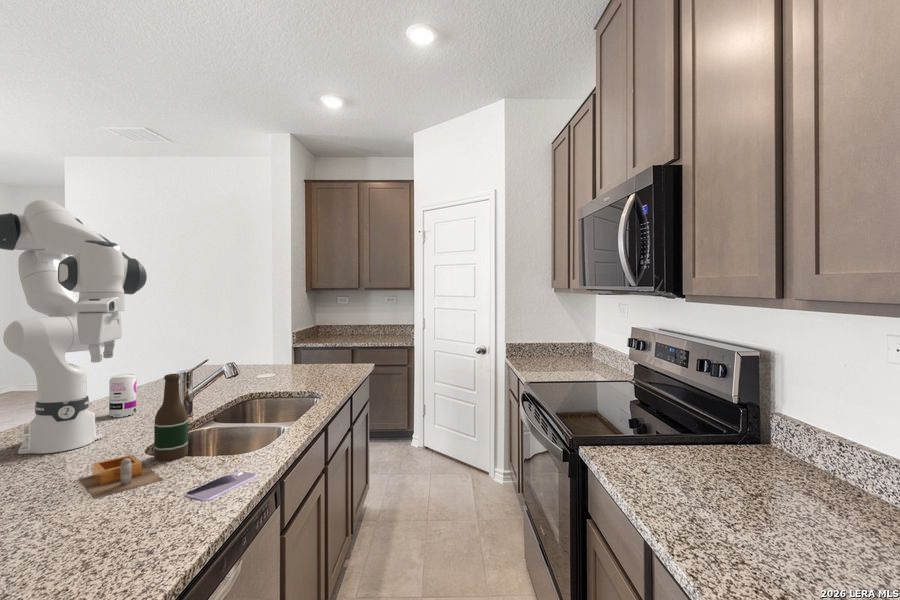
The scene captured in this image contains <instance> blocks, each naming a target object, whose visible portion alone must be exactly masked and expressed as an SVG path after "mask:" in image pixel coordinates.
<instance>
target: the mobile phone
mask: <svg viewBox="0 0 900 600" xmlns="http://www.w3.org/2000/svg"><path fill="white" fill-rule="evenodd" d="M256 478H258V474H256V473H253V472H249V471H243V470H235V473H230V474H227V475H224V476H221V477H218V478H216V479H215V480H211V481H210V482H207V483H205V484H202V485H201V486H199V487H196V488H194V489H191V490H189V491H187V492H186V493H185V496H184V497H186V498H190V499H195V500H198V501H202V502H208V501H212V500H213V499H216V498H217V497H220V496H222V495H224V494H226V493H228V492H229V491H232V490H234V489H236V488H238V487H240V486H242V485H244V484H246V483H248V482H250V481H252V480H255V479H256Z"/></svg>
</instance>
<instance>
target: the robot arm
mask: <svg viewBox="0 0 900 600" xmlns="http://www.w3.org/2000/svg"><path fill="white" fill-rule="evenodd" d="M121 247H122V246H121V245H119V244H118V243H115V242H111V241H110V240H109V239H108V238H106V237H105V236H103V235H101V234H99V233H97V232H96V231H94V230H92V229H90V228H88V227H87V226H85V225H84V223H83V222H82V221H81V220H80V219H79V218H76V217H75V216H73V214H72V213H71V212H70V211H69V210H68V209H66V208H65V207H64V206H62V205H60V204H59V203H57V202H55V201H53V200H49V199H39V200H34V201H31V202H30V203H28V204H27V205H26V206H25V207H24V210H23V213H12V212H10V213H9V212H7V213H1V214H0V250H7V251H15V250H17V251H23V252H21V254H20V255H19V256H18V261H17V262H18V264H17V265H18V266H17V267H18V275H19V276H18V277H19V280H20V284H21V288H22V291H23V295H24V296H25V300H26V303H27V305H28V306H29V307H30V308H31V309H32V310H34V311H36V312H37V313H41V314H43V315H45V316H37V317H35V316H33V317H29V318H23V319H19V320H18V319H17V320H14V321H12V322H11V323H9V324H8V326H6V328H5V330H4V333H3V336H2V340H3V344H4V346H5V348H6V349H7V350H8V351H9V352H11V353H13V354H14V355H16V356H18V357H20V358H22V359H23V360H25V361H26V363H28V364H29V365H30V366H31V368H32V370H33V371H34V374H35V378H36V390H37V391H36V392H37V393H36V395H37V401H35V404H34V414H35V416H34V418H33V419H31V421H30V422H28V425H26V426H24V427H23V434H24V435H26V436H25V438H24V440H23V441H22V443H21V445H20V447H19V448H18V451H17V454H18V455H26V454H54V453H59V452H60V453H61V452H65V451H70V450H75V449H78V448H82V447H85V446H88V445H90V444H91V443H93V442H96V441H98V440H101V439H103V434H101V433H98V432H96V415H95V413H94V412H93V411H90V409H89V408H90V407H89V405H90V404H89V403H90V399H89V395H88V389H87V388H88V374H87V372H86V370H85V369H84V368H83V367H81V366H79V365H76V364H73V363H70V362H68V361H67V359H66V357H65V354H66V353H74V352H75V353H76V352H89V355H90V362H91V363H93V364H95V363H100V362H102V361H103V359H111V358H113V357H114V350H115V345H116V340H120V339H121V338H122V333H123V332H122V331H123V330H122V329H123V328H122V315H121V313H120V312H124V311H125V295H130V296H131V295H134V294H136V293H137V292H139V291H140V290H141V289H143V288H144V286H145V285H146V283H147V280H148V279H147V271H146V269H145V267H144V266H143V264H142V263H141V262H140V261H139V260H138V259H136V258H132V257H130V256H129V255H127V254H125V252H123V251H122V248H121ZM63 255H68V256H67V257H65V258H64V259H63ZM76 293H78V296H77V294H76ZM102 348H104V349H103V352H102V350H101V349H102ZM102 353H103V354H102ZM100 438H101V439H100ZM97 439H98V440H97ZM95 440H96V441H95Z"/></svg>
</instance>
